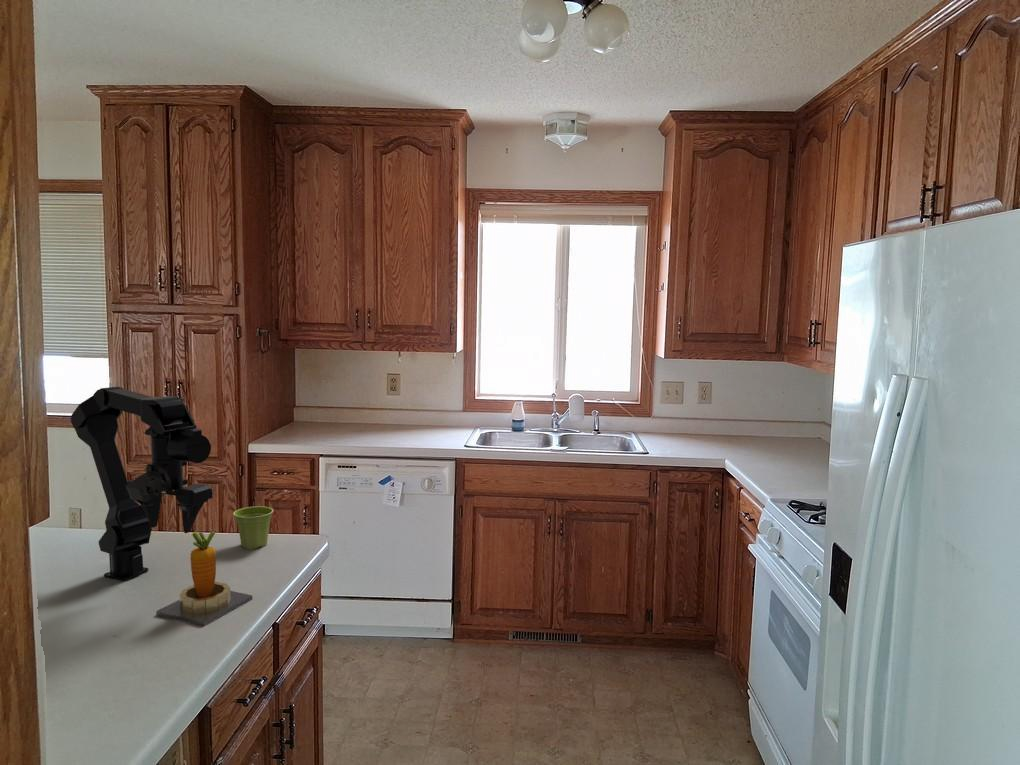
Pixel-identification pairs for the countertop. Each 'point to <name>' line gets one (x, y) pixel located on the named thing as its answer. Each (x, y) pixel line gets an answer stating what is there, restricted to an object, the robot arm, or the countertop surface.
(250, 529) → the plant pot
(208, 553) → the carrot
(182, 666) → the countertop surface
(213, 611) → the collar plate
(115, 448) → the robot arm
